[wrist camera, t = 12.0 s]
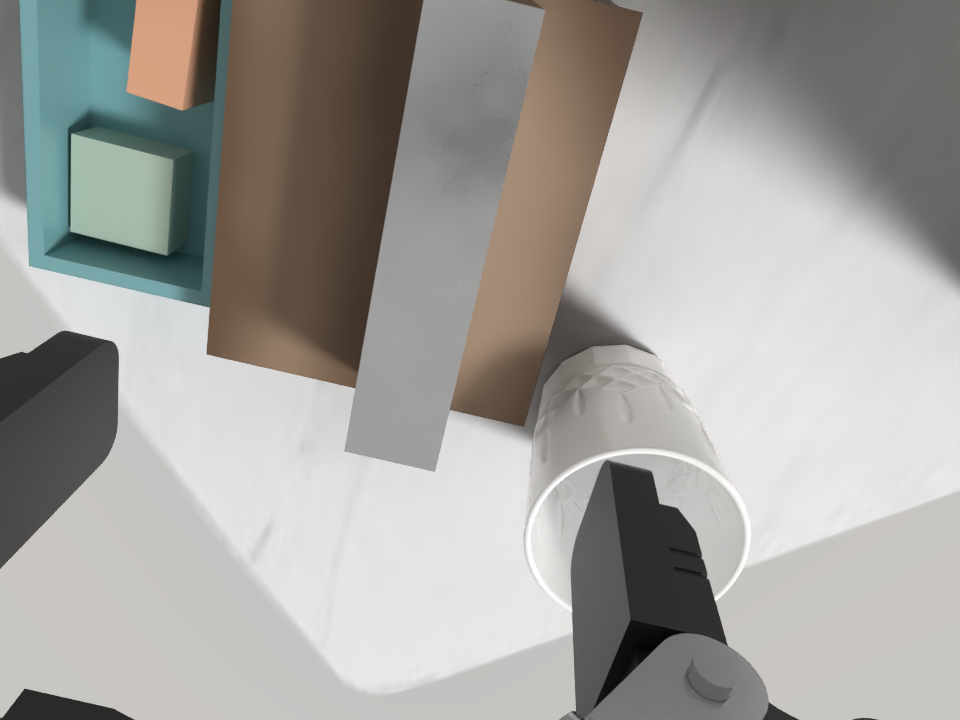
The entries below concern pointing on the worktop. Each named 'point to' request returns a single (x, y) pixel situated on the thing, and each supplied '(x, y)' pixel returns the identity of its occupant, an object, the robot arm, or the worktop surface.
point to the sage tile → (130, 189)
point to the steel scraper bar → (439, 221)
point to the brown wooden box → (367, 182)
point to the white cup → (625, 462)
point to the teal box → (105, 103)
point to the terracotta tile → (175, 51)
